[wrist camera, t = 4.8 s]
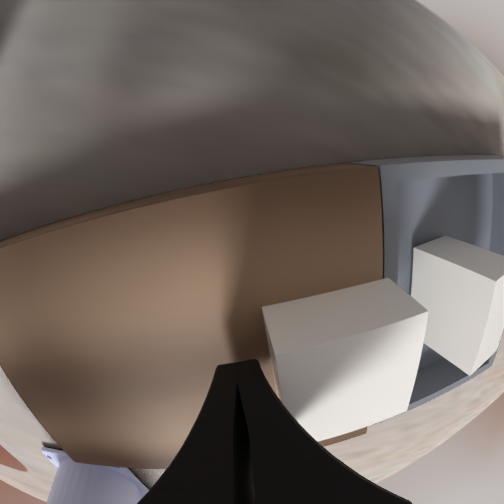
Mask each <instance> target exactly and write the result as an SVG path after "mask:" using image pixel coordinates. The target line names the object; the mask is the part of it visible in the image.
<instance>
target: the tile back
mask: <svg viewBox="0 0 504 504" xmlns="http://www.w3.org/2000/svg"><path fill="white" fill-rule="evenodd" d="M411 297H413V298H414V299H415V300H416V301H417V302H419V303H420V304H421V305H422V306H423V307H424V308H426V309H427V310H428V311H429V312H428V319H427V325H426V331H425V337H424V342H423V343H424V344H426V345H427V346H429V347H430V348H431V349H433V350H434V351H436V352H437V353H438V354H440V355H441V356H443V357H444V358H446V359H447V360H448V361H450V362H451V363H452V364H454V365H455V366H457V367H458V368H459V369H461V370H462V371H464V372H465V373H466V374H468V375H469V376H470V375H472V374H473V373H474V372H475V371H476V370H477V369H478V368H479V367H480V366H481V365H482V364H483V363H484V362H485V361H486V360H487V359H488V358H490V357H491V356H492V355H493V354H494V352H495V351H496V350H497V349H498V346H499V343H500V340H501V336H502V333H503V330H504V256H502V255H500V254H497V253H494V252H492V251H489V250H486V249H483V248H480V247H478V246H475V245H472V244H469V243H466V242H463V241H460V240H457V239H454V238H451V237H448V236H443V237H440V238H437V239H435V240H432V241H430V242H427V243H424V244H422V245H419V246H416V247H414V250H413V273H412V288H411Z"/></svg>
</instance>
